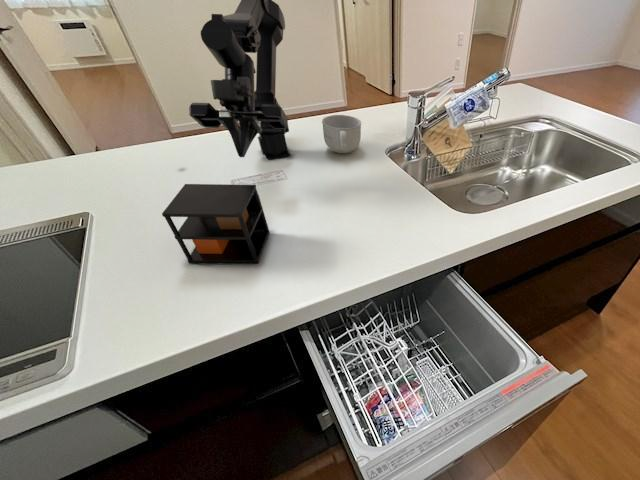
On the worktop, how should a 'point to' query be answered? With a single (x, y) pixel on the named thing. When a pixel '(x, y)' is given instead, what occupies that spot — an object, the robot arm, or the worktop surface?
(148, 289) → the worktop surface
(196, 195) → the snack rack
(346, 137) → the teacup
